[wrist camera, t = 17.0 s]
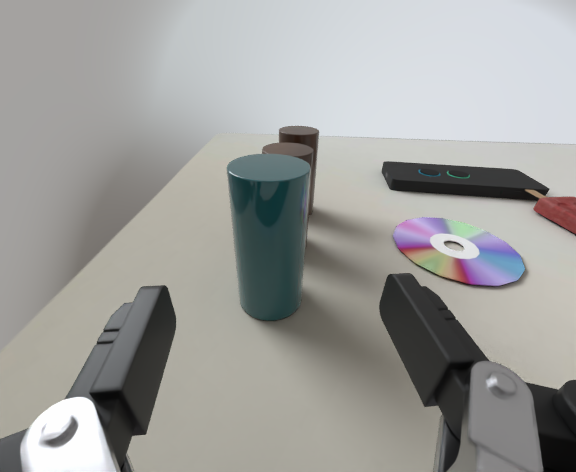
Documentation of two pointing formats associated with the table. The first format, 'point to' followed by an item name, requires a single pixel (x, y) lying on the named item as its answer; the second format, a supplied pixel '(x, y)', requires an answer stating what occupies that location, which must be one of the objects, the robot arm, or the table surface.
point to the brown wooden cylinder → (295, 151)
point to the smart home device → (461, 180)
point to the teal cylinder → (269, 231)
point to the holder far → (304, 137)
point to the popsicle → (557, 209)
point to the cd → (459, 264)
